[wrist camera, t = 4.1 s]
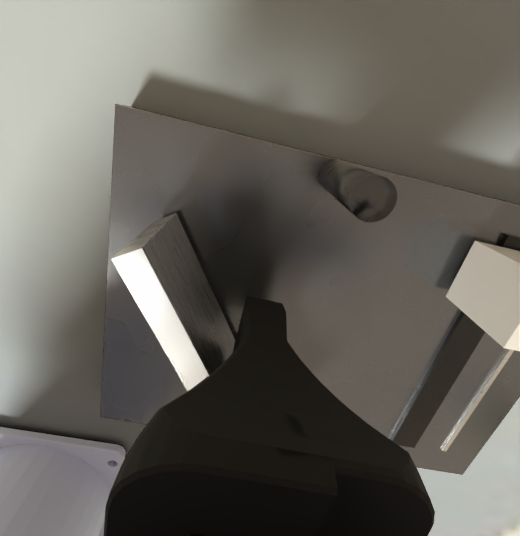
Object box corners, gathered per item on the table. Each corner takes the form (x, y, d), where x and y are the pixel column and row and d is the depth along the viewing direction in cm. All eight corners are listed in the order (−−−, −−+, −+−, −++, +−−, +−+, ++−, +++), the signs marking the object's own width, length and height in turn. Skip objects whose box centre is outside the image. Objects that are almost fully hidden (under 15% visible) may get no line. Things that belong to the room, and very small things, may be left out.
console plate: (449, 452, 17) (532, 592, 12) (111, 396, 16) (37, 531, 10) (603, 226, 12) (860, 297, 7) (130, 106, 11) (5, 83, 5)
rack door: (280, 422, 14) (286, 504, 11) (250, 430, 14) (249, 512, 11) (184, 209, 10) (153, 243, 7) (146, 223, 11) (99, 262, 7)
